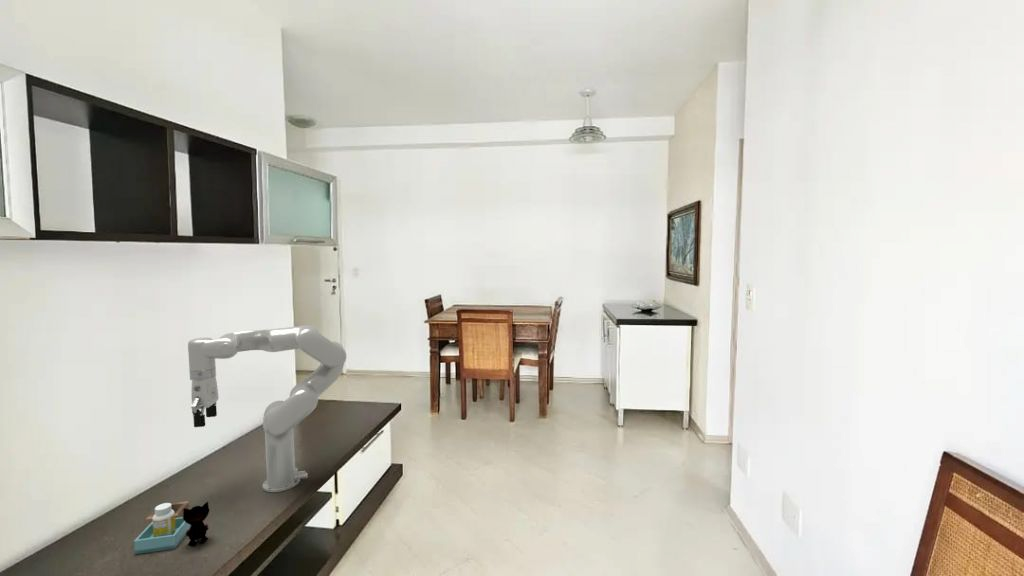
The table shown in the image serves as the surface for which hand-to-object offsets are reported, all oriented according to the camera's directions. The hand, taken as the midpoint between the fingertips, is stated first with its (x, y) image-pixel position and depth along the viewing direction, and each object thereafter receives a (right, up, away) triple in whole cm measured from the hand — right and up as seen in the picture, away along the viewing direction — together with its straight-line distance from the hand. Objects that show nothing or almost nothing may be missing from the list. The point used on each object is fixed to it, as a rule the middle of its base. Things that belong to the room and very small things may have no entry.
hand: (205, 421), depth 157 cm
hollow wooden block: (-5, -29, -11) cm, 31 cm away
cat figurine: (+13, -30, -22) cm, 40 cm away
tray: (+2, -30, -21) cm, 37 cm away
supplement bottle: (+2, -29, -21) cm, 36 cm away
